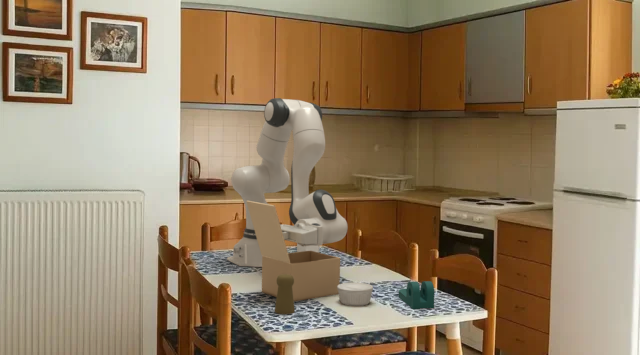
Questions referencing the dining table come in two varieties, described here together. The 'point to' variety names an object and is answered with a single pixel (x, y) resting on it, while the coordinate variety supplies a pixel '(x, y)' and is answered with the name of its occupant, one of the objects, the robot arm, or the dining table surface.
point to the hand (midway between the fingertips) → (271, 235)
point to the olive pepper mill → (285, 295)
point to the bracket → (418, 295)
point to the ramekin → (355, 293)
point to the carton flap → (268, 231)
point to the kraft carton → (303, 274)
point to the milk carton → (307, 248)
